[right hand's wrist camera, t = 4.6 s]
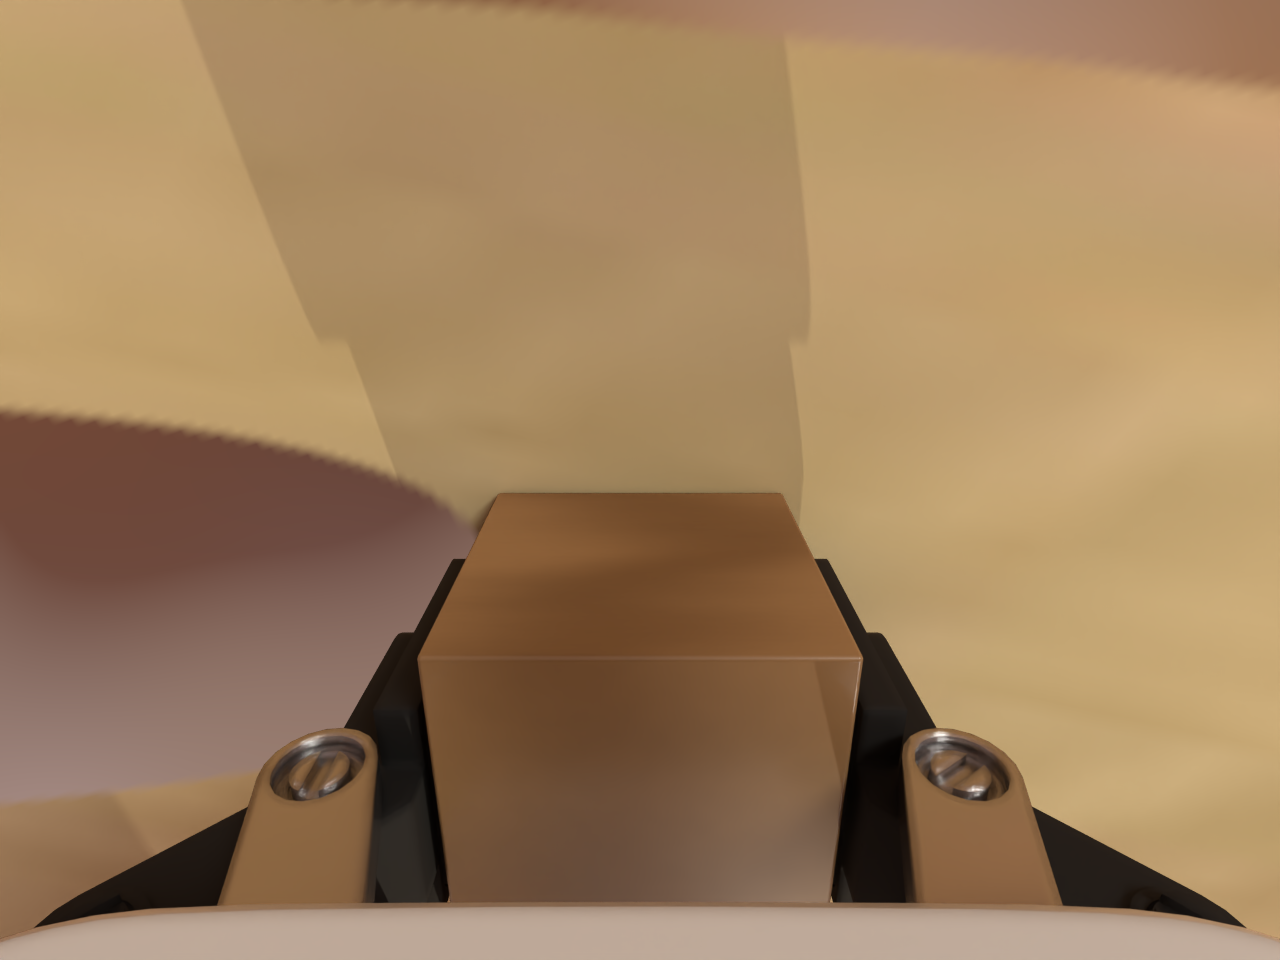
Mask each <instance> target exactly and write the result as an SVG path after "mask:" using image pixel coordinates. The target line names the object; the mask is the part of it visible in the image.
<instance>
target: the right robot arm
mask: <svg viewBox="0 0 1280 960" xmlns="http://www.w3.org/2000/svg"><path fill="white" fill-rule="evenodd" d="M465 560H466V559H453V560H452V562H451V564H450V566H449V567H448V569H447V571H446V573H445V575H444V577H443V579H442V581H441V582H440V584H439V586H438V588H437V590H436V592H435V594H434V596H433V598H432V599H431V601H430V603H429V605H428V607H427V609H426V611H425V613H424V614H423V616H422V618H421V620H420V622H419V624H418V626H417V628H416V630H415V631H414V633H400V634H398V635H397V636H396V638H395V639H394V641H393V642H392V644H391V646H390V648H389V650H388V651H387V653H386V655H385V656H384V658H383V660H382V662H381V664H380V665H379V667H378V669H377V671H376V672H375V674H374V676H373V678H372V679H371V681H370V683H369V685H368V686H367V688H366V690H365V692H364V693H363V695H362V697H361V699H360V700H359V702H358V704H357V706H356V708H355V709H354V711H353V713H352V715H351V716H350V718H349V720H348V722H347V723H346V725H345V727H344V728H336V729H325V730H322V731H318V732H314V733H310V734H307V735H305V736H303V737H301V738H298V739H296V740H294V741H292V742H290V743H289V744H287V745H286V746H284V747H283V748H281V749H280V750H278V751H277V752H276V753H275V754H274V755H273V756H272V757H271V758H270V759H269V760H268V761H267V762H266V763H265V764H264V766H263V768H262V769H261V771H260V773H259V775H258V777H257V780H256V783H255V786H254V789H253V792H252V796H251V799H250V802H249V805H248V807H247V808H245V809H243V810H241V811H239V812H237V813H235V814H233V815H231V816H229V817H228V818H226V819H224V820H222V821H220V822H218V823H216V824H214V825H212V826H210V827H208V828H207V829H205V830H203V831H201V832H199V833H197V834H195V835H193V836H191V837H189V838H187V839H185V840H184V841H182V842H180V843H178V844H176V845H174V846H172V847H170V848H168V849H166V850H164V851H163V852H161V853H159V854H157V855H155V856H153V857H151V858H149V859H147V860H145V861H143V862H141V863H140V864H138V865H136V866H134V867H132V868H130V869H128V870H126V871H124V872H122V873H120V874H119V875H117V876H115V877H113V878H111V879H109V880H107V881H105V882H103V883H101V884H99V885H98V886H96V887H94V888H92V889H90V890H88V891H86V892H84V893H82V894H80V895H78V896H77V897H75V898H74V899H72V900H70V901H69V902H67V903H66V904H64V905H62V906H61V907H59V908H57V909H56V910H54V911H53V912H52V913H51V914H50V915H49V916H47V917H46V918H45V919H44V920H43V921H41V922H40V923H39V924H38V925H37V926H36V927H34V928H33V929H30V930H27V931H24V932H20V933H17V934H14V935H11V936H8V937H4V938H1V939H0V960H1280V939H1279V938H1276V937H1272V936H1269V935H1266V934H1263V933H1260V932H1256V931H1253V930H1250V929H1247V928H1246V927H1245V926H1244V925H1242V924H1241V923H1240V922H1239V921H1238V920H1237V919H1235V918H1234V917H1233V916H1232V915H1231V914H1229V913H1228V912H1227V911H1226V910H1224V909H1223V908H1221V907H1220V906H1218V905H1216V904H1215V903H1213V902H1212V901H1210V900H1208V899H1207V898H1205V897H1203V896H1202V895H1200V894H1198V893H1196V892H1194V891H1192V890H1190V889H1188V888H1187V887H1185V886H1183V885H1181V884H1179V883H1177V882H1175V881H1173V880H1171V879H1169V878H1167V877H1166V876H1164V875H1162V874H1160V873H1158V872H1156V871H1154V870H1152V869H1150V868H1148V867H1146V866H1145V865H1143V864H1141V863H1139V862H1137V861H1135V860H1133V859H1131V858H1129V857H1127V856H1125V855H1123V854H1122V853H1120V852H1118V851H1116V850H1114V849H1112V848H1110V847H1108V846H1106V845H1104V844H1102V843H1101V842H1099V841H1097V840H1095V839H1093V838H1091V837H1089V836H1087V835H1085V834H1083V833H1081V832H1080V831H1078V830H1076V829H1074V828H1072V827H1070V826H1068V825H1066V824H1064V823H1062V822H1060V821H1059V820H1057V819H1055V818H1053V817H1051V816H1049V815H1047V814H1045V813H1043V812H1041V811H1039V810H1037V809H1036V808H1034V807H1032V805H1031V802H1030V799H1029V796H1028V792H1027V789H1026V786H1025V783H1024V780H1023V777H1022V775H1021V773H1020V771H1019V769H1018V768H1017V766H1016V764H1015V763H1014V762H1013V761H1012V760H1011V759H1010V758H1009V757H1008V756H1007V755H1006V754H1005V753H1004V752H1003V751H1002V750H1000V749H999V748H997V747H996V746H994V745H993V744H991V743H990V742H988V741H986V740H984V739H982V738H979V737H977V736H975V735H973V734H970V733H966V732H962V731H958V730H955V729H944V728H936V726H935V724H934V723H933V721H932V719H931V717H930V716H929V714H928V712H927V710H926V709H925V707H924V705H923V703H922V702H921V700H920V698H919V696H918V695H917V693H916V691H915V689H914V687H913V686H912V684H911V682H910V680H909V679H908V677H907V675H906V673H905V672H904V670H903V668H902V666H901V665H900V663H899V661H898V659H897V658H896V656H895V654H894V652H893V651H892V649H891V647H890V645H889V643H888V642H887V640H886V638H885V637H884V636H883V635H882V634H881V633H866V631H865V629H864V627H863V625H862V623H861V621H860V619H859V618H858V616H857V614H856V612H855V610H854V608H853V606H852V604H851V602H850V601H849V599H848V597H847V595H846V593H845V591H844V589H843V587H842V585H841V584H840V582H839V580H838V578H837V576H836V574H835V572H834V570H833V569H832V567H831V565H830V563H829V561H828V560H827V559H814V560H815V562H816V564H817V566H818V568H819V570H820V572H821V574H822V576H823V578H824V580H825V582H826V584H827V586H828V588H829V590H830V592H831V594H832V596H833V598H834V600H835V602H836V604H837V606H838V608H839V610H840V612H841V614H842V616H843V618H844V620H845V622H846V624H847V626H848V628H849V630H850V632H851V634H852V636H853V638H854V640H855V642H856V644H857V646H858V648H859V650H860V652H861V654H862V657H863V664H862V671H861V678H860V686H859V693H858V700H857V708H856V715H855V722H854V730H853V737H852V744H851V752H850V759H849V767H848V774H847V781H846V789H845V796H844V803H843V811H842V818H841V825H840V833H839V840H838V847H837V855H836V862H835V869H834V877H833V884H832V891H831V896H832V900H833V903H817V902H463V903H447V901H448V898H449V889H448V881H447V874H446V866H445V859H444V852H443V844H442V837H441V830H440V822H439V815H438V808H437V800H436V793H435V785H434V778H433V771H432V763H431V756H430V749H429V741H428V734H427V727H426V719H425V712H424V704H423V697H422V690H421V682H420V675H419V668H418V660H417V658H418V655H419V653H420V651H421V649H422V647H423V645H424V643H425V641H426V639H427V637H428V635H429V633H430V631H431V629H432V627H433V625H434V623H435V621H436V619H437V617H438V615H439V613H440V611H441V609H442V607H443V605H444V603H445V601H446V599H447V597H448V595H449V593H450V591H451V589H452V587H453V585H454V583H455V581H456V579H457V576H458V574H459V572H460V570H461V568H462V566H463V564H464V562H465Z"/></svg>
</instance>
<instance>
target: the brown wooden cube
mask: <svg viewBox="0 0 1280 960" xmlns="http://www.w3.org/2000/svg"><path fill="white" fill-rule="evenodd" d="M417 660H418V668H419V675H420V682H421V690H422V697H423V704H424V712H425V719H426V727H427V734H428V741H429V749H430V756H431V763H432V771H433V778H434V785H435V793H436V800H437V808H438V815H439V822H440V830H441V837H442V844H443V852H444V859H445V866H446V874H447V881H448V889H449V896H450V903H463V902H817V903H830V899H831V891H832V884H833V877H834V869H835V862H836V855H837V847H838V840H839V833H840V825H841V818H842V811H843V803H844V796H845V789H846V781H847V774H848V767H849V759H850V752H851V744H852V737H853V730H854V722H855V715H856V708H857V700H858V693H859V686H860V678H861V671H862V664H863V657H862V654H861V652H860V650H859V648H858V646H857V644H856V642H855V640H854V638H853V636H852V634H851V632H850V630H849V628H848V626H847V624H846V622H845V620H844V618H843V616H842V614H841V612H840V610H839V608H838V606H837V604H836V602H835V600H834V598H833V596H832V594H831V592H830V590H829V588H828V586H827V584H826V582H825V580H824V578H823V576H822V574H821V572H820V570H819V568H818V566H817V564H816V562H815V560H814V558H813V556H812V554H811V552H810V549H809V547H808V545H807V543H806V541H805V539H804V537H803V535H802V533H801V531H800V529H799V527H798V525H797V523H796V521H795V519H794V517H793V515H792V513H791V511H790V509H789V507H788V505H787V503H786V501H785V499H784V497H783V495H782V494H780V493H500V494H498V495H497V498H496V500H495V502H494V504H493V506H492V508H491V510H490V512H489V514H488V516H487V518H486V520H485V522H484V524H483V526H482V528H481V530H480V532H479V534H478V536H477V538H476V540H475V542H474V544H473V546H472V548H471V550H470V552H469V554H468V556H467V558H466V560H465V562H464V564H463V566H462V568H461V570H460V572H459V574H458V576H457V579H456V581H455V583H454V585H453V587H452V589H451V591H450V593H449V595H448V597H447V599H446V601H445V603H444V605H443V607H442V609H441V611H440V613H439V615H438V617H437V619H436V621H435V623H434V625H433V627H432V629H431V631H430V633H429V635H428V637H427V639H426V641H425V643H424V645H423V647H422V649H421V651H420V653H419V655H418V658H417Z"/></svg>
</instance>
